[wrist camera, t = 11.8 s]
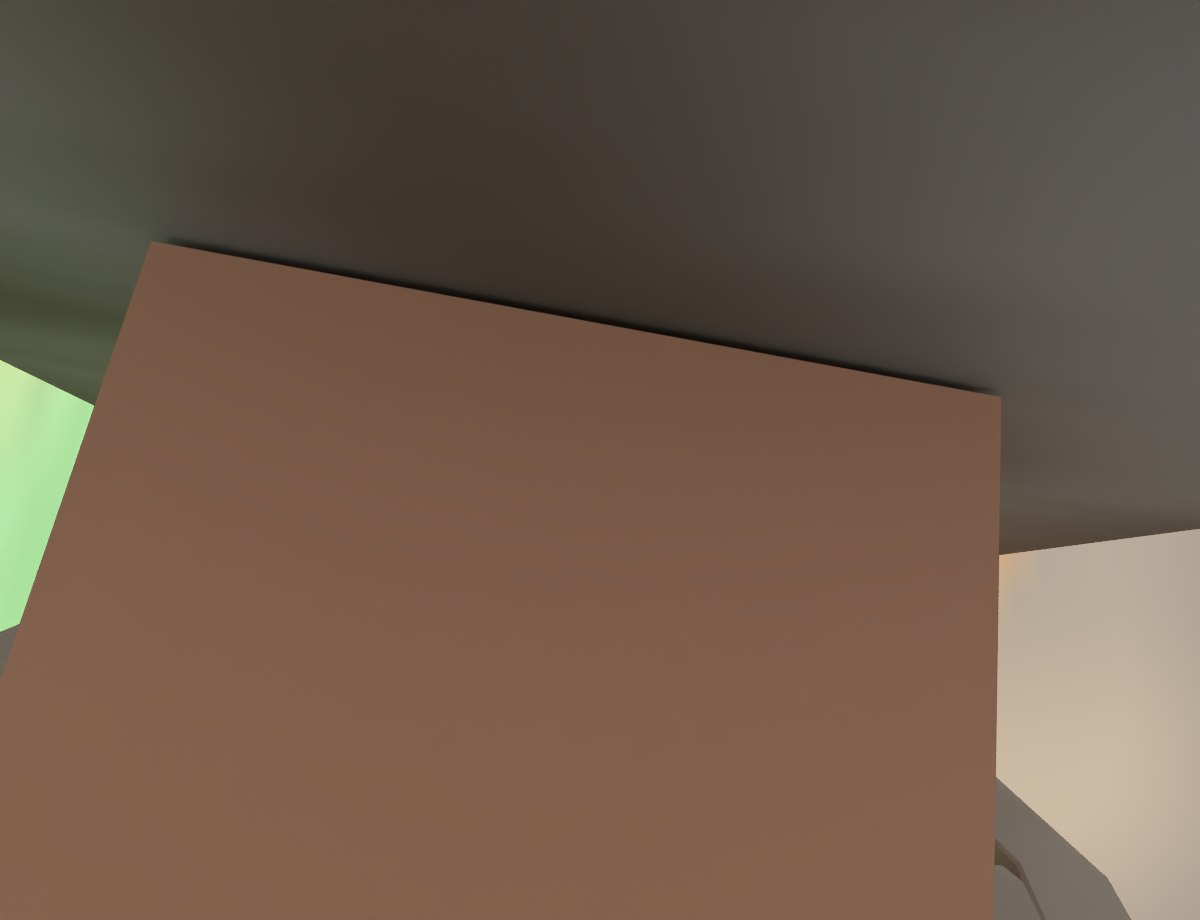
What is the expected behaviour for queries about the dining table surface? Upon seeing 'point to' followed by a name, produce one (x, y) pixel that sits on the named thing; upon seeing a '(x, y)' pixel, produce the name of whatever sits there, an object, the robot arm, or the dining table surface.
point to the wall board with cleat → (664, 192)
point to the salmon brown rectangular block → (499, 624)
